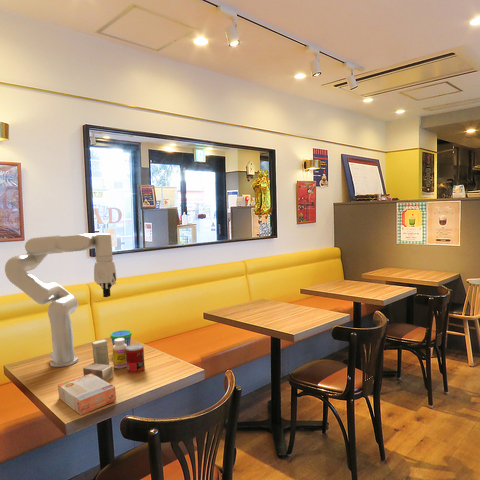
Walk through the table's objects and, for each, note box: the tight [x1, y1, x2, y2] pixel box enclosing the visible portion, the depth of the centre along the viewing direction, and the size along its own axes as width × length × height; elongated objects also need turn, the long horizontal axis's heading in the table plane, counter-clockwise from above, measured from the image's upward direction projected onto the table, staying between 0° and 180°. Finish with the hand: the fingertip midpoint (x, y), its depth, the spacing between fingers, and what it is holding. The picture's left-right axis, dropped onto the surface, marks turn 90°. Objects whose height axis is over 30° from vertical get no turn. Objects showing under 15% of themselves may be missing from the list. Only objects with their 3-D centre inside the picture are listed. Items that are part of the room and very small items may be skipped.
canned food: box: [126, 343, 146, 374], centre depth 183 cm, size 8×8×11 cm
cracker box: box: [57, 373, 117, 416], centre depth 155 cm, size 14×6×21 cm
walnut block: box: [82, 362, 114, 382], centre depth 176 cm, size 5×6×11 cm
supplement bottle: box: [112, 338, 127, 369], centre depth 188 cm, size 7×7×13 cm
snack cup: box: [110, 329, 132, 347], centre depth 208 cm, size 16×10×10 cm
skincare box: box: [91, 338, 110, 365], centre depth 189 cm, size 6×4×12 cm
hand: (107, 296), depth 193 cm, fingers closed
